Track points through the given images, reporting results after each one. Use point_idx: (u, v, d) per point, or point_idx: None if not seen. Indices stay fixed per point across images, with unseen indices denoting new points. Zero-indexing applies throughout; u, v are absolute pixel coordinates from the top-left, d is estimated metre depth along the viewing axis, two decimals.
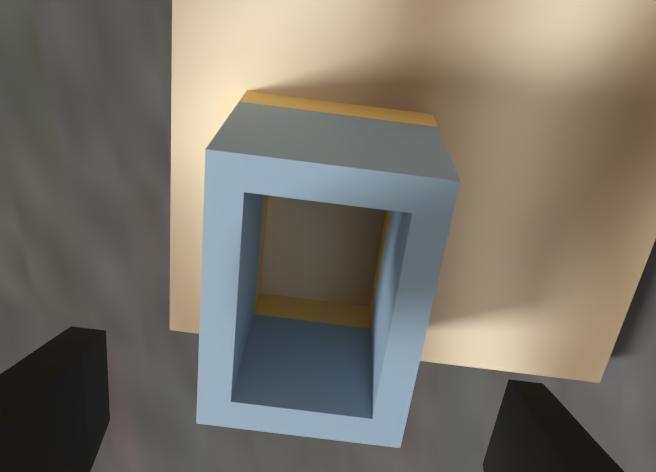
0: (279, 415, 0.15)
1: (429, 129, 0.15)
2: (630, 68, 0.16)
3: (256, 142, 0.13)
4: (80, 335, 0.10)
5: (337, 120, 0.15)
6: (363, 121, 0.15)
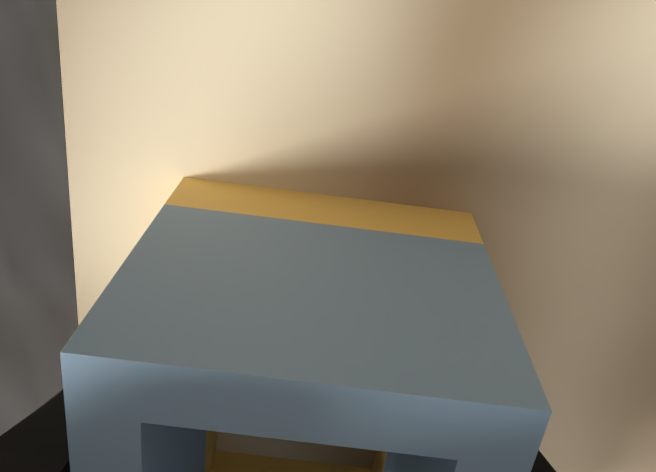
0: None
1: (471, 251, 0.09)
2: None
3: (169, 318, 0.07)
4: None
5: (322, 240, 0.09)
6: (364, 239, 0.09)
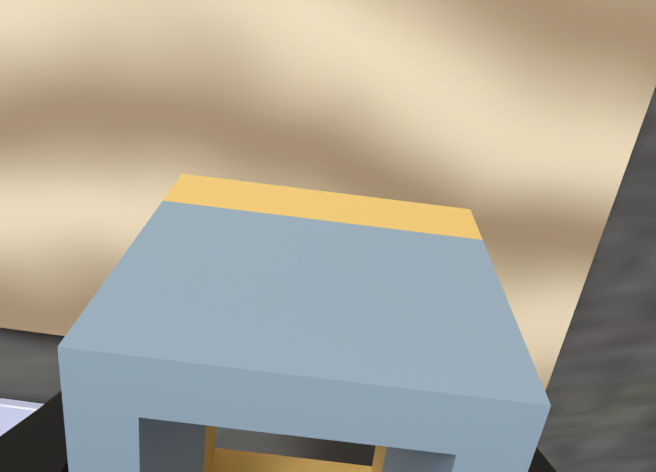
0: None
1: (470, 247, 0.09)
2: None
3: (167, 313, 0.07)
4: None
5: (320, 236, 0.09)
6: (363, 235, 0.09)
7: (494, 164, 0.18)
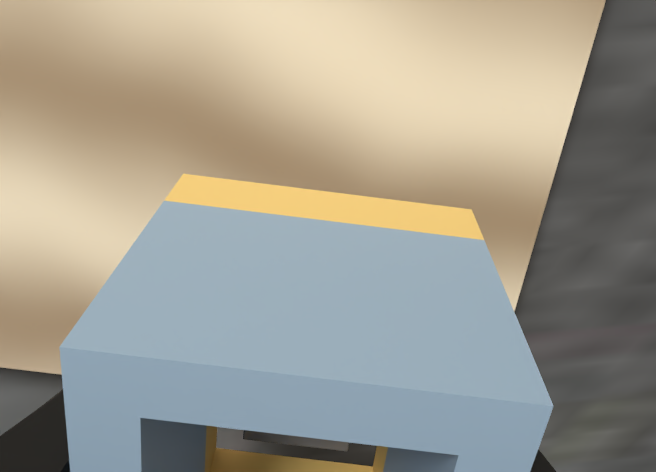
0: None
1: (472, 247, 0.09)
2: None
3: (168, 313, 0.07)
4: None
5: (322, 236, 0.09)
6: (364, 235, 0.09)
7: (397, 127, 0.14)
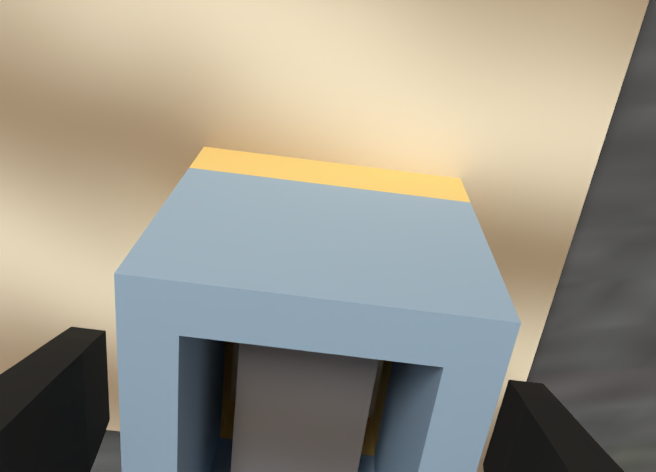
0: None
1: (459, 208, 0.11)
2: None
3: (200, 252, 0.08)
4: (80, 336, 0.10)
5: (328, 197, 0.11)
6: (365, 197, 0.11)
7: (404, 152, 0.12)
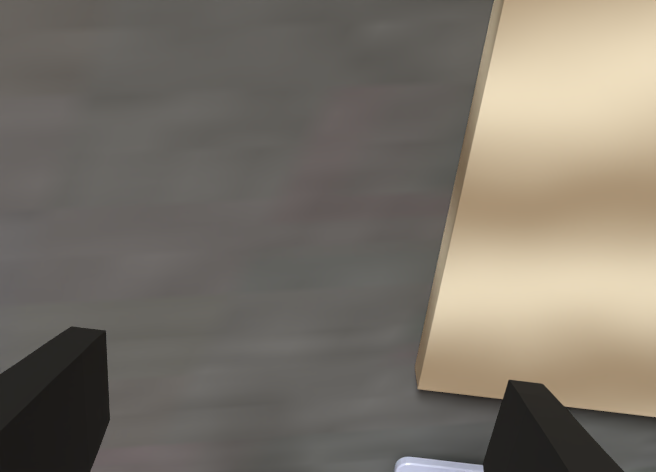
0: None
1: None
2: None
3: None
4: (79, 335, 0.10)
5: None
6: None
7: None
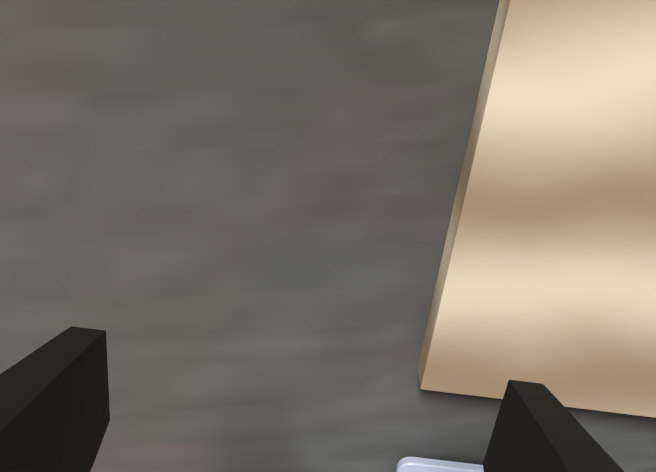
0: None
1: None
2: None
3: None
4: (79, 335, 0.10)
5: None
6: None
7: None
